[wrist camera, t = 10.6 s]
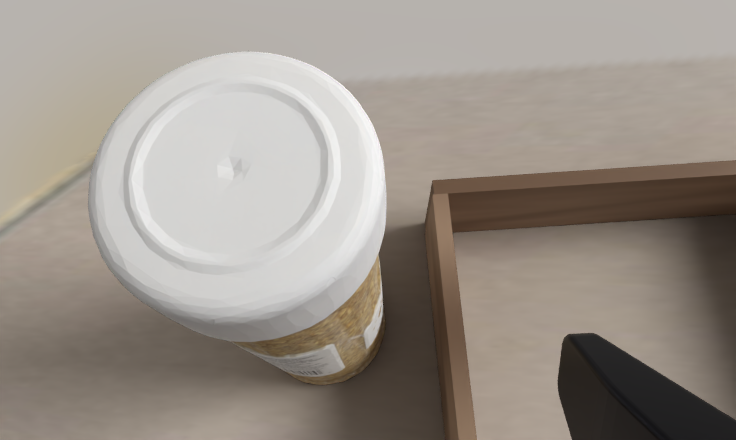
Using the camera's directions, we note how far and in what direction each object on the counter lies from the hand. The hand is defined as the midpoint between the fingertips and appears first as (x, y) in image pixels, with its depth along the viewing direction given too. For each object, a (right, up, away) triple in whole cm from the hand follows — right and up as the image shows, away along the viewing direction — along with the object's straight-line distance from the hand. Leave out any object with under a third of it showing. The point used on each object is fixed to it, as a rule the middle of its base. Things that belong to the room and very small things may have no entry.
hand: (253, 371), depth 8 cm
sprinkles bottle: (0, -2, +13) cm, 13 cm away
